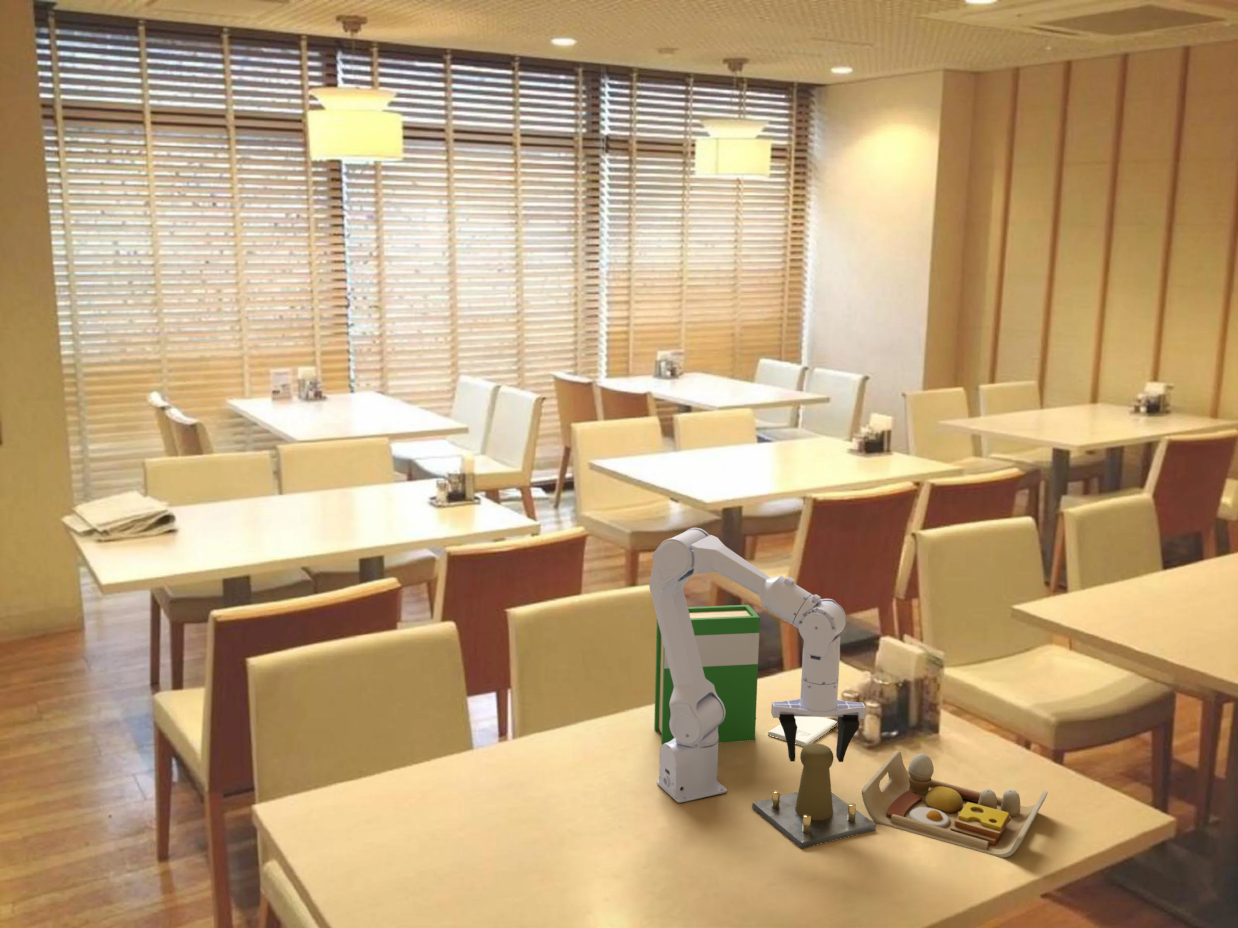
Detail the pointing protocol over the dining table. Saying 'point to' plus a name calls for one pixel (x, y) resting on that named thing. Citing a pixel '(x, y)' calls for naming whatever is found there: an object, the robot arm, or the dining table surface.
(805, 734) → the external hard drive
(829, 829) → the chassis plate
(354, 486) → the dining table surface
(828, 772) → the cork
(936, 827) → the toy food set
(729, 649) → the hardback book
